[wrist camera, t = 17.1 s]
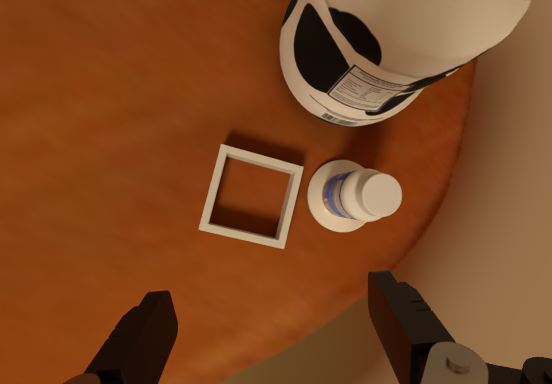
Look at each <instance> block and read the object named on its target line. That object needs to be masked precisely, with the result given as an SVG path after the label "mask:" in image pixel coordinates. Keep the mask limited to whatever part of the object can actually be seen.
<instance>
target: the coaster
mask: <svg viewBox="0 0 552 384" xmlns="http://www.w3.org/2000/svg"><path fill="white" fill-rule="evenodd" d="M360 169H364V168H363V167H362V166H360V165H359V164H357V163H355V162H352V161H349V160H336V161H332V162H329V163H327V164H325V165H323V166H322V167H320V168H319V169H318V170H317V171H316V172H315V173H314V174H313V176H312V178H311V180H310V182H309V185H308V189H307V202H308V207H309V210H310V212H311V214H312V215H313V217H314V218H315V220H316V221H317V222H318V223H319V224H321V225H322V226H323V227H325V228H327V229H329V230H333V231H337V232H349V231H353V230H355V229H358V228H359V227H361V226H362V225H364V224H365V223H366V221H359V220H354V219H349V218H342V217H337V216H335V215H333V214H331V213H330V212H329V211H327V209H326V208H325V206H324V204H323V202H322V190H323V187H324V185H325V183H326V182H327V181H328V180H329V179H330V178H331V177H333V176H335V175H337V174H342V173H346V172H351V171H356V170H360Z"/></svg>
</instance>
